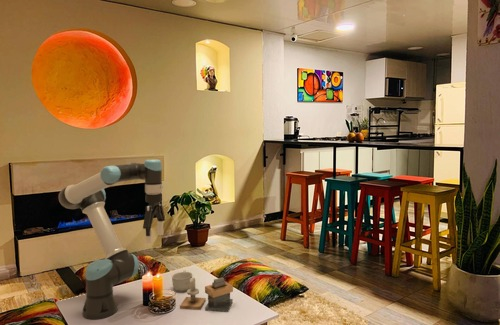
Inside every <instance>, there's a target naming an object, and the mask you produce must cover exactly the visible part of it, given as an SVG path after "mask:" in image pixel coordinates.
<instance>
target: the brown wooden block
mask: <svg viewBox="0 0 500 325" xmlns="http://www.w3.org/2000/svg"><path fill="white" fill-rule="evenodd" d="M233 292H234V285H233V284H231V283H229V282H228V281H226V286H224V287H221V288H217V289H213V288H212V284H209V285H206V286H204V293H205V294H207V296H208V295H210V296H211V297H213V298H214V297H217V296H221V295H224V294H227V293H230V294H231V293H233Z"/></svg>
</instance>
